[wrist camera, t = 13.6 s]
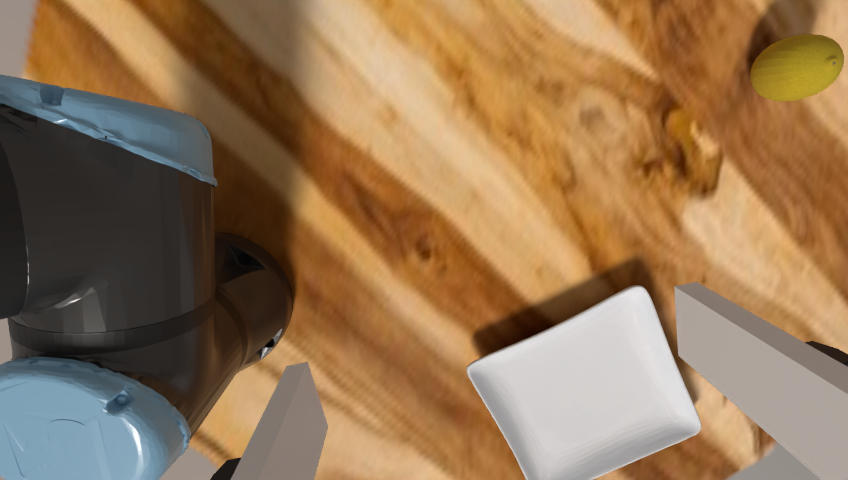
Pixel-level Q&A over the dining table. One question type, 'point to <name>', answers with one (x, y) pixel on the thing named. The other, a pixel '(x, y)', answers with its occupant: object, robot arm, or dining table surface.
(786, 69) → the lemon
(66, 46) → the dining table surface
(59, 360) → the robot arm
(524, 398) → the salad plate
